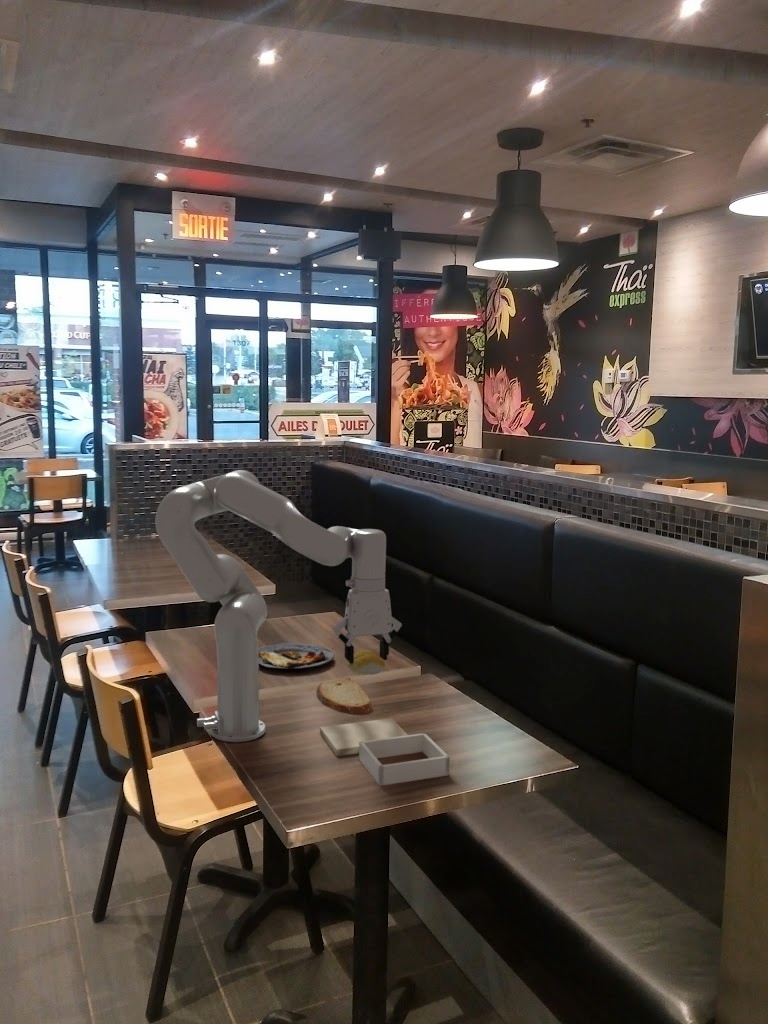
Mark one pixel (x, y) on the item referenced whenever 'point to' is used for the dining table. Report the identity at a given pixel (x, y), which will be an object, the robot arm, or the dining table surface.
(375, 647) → the dining table surface
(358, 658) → the bread roll
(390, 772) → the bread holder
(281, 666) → the food plate
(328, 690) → the slice of bread
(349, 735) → the birch board
